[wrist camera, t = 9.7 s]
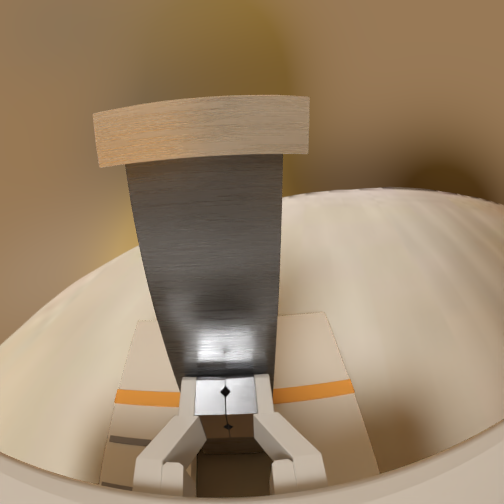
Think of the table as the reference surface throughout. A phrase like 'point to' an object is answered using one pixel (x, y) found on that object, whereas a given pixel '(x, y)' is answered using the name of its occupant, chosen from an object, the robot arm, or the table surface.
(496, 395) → the table surface
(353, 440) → the console
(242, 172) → the fader tab
